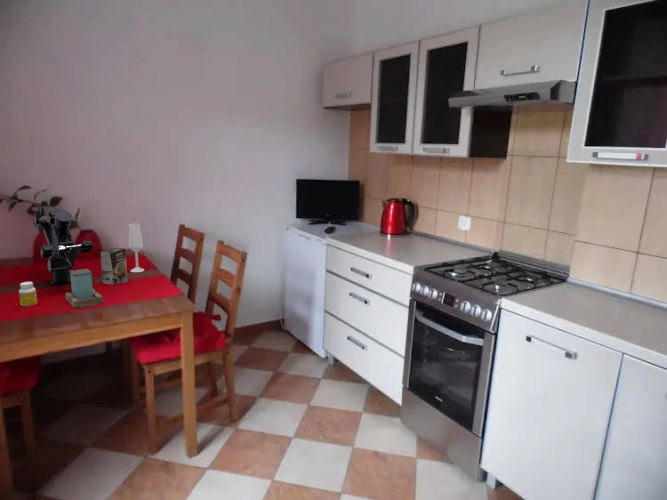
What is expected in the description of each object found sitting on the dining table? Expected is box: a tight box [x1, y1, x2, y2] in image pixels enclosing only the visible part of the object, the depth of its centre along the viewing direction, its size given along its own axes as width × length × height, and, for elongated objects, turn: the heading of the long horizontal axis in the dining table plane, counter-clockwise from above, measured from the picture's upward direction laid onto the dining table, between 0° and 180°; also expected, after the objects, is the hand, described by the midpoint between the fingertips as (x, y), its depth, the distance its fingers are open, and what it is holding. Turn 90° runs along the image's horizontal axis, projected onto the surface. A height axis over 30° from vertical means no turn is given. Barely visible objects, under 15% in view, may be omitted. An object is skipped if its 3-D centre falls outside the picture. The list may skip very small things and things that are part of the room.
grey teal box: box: [69, 268, 94, 301], centre depth 175 cm, size 6×6×12 cm
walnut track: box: [64, 288, 104, 310], centre depth 175 cm, size 13×11×4 cm
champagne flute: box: [128, 222, 145, 273], centre depth 221 cm, size 7×7×24 cm
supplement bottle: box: [18, 281, 38, 307], centre depth 170 cm, size 5×5×10 cm
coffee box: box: [100, 247, 129, 285], centre depth 200 cm, size 9×6×16 cm
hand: (72, 266), depth 181 cm, fingers closed
